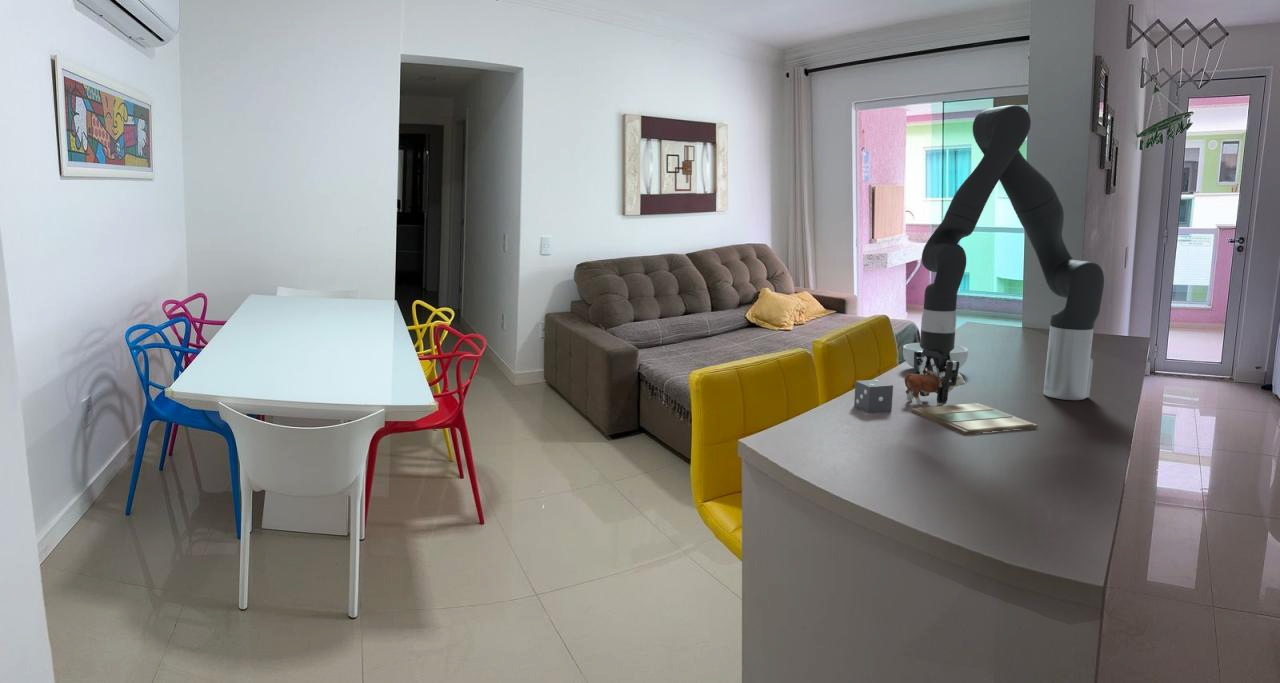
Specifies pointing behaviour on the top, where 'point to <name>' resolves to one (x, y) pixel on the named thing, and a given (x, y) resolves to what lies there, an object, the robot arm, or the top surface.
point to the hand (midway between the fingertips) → (932, 398)
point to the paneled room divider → (972, 418)
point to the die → (873, 396)
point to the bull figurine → (925, 385)
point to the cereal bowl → (909, 349)
